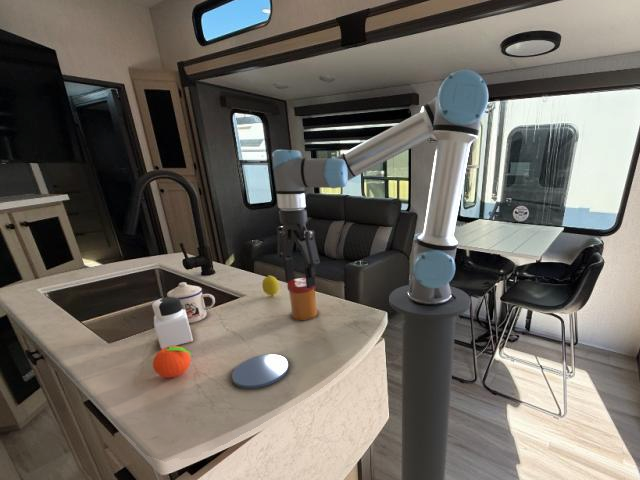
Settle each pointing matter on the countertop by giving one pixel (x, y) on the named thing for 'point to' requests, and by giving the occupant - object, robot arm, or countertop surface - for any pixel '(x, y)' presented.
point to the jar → (303, 305)
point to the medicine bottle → (171, 322)
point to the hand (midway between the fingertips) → (300, 283)
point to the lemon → (270, 285)
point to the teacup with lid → (191, 301)
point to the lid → (298, 286)
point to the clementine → (171, 361)
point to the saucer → (260, 371)
